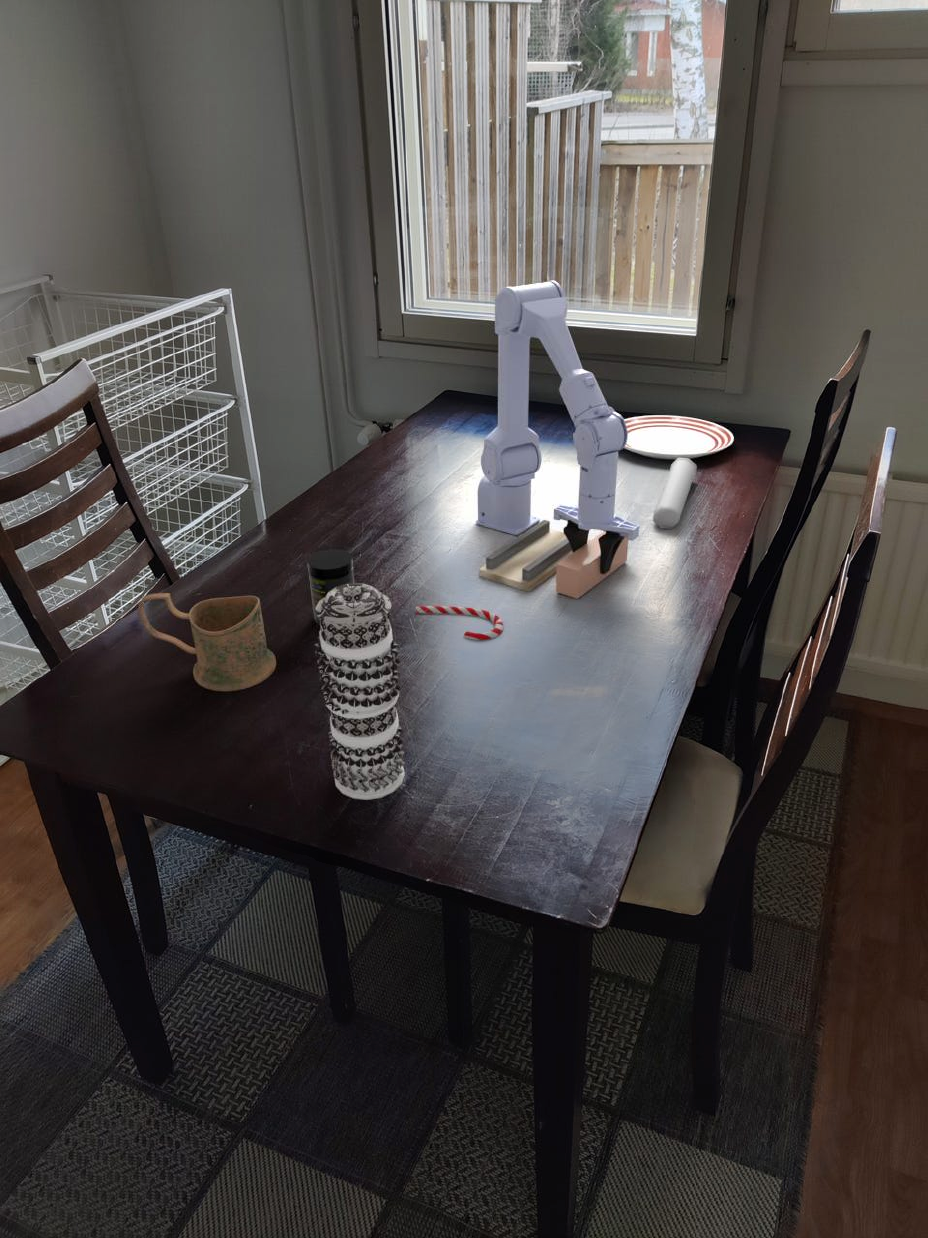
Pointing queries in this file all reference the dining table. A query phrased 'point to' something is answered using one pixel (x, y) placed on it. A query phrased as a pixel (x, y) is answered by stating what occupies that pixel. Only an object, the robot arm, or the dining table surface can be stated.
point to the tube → (674, 493)
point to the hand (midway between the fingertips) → (592, 567)
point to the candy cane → (468, 611)
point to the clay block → (586, 568)
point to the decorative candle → (361, 690)
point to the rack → (528, 558)
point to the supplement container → (328, 573)
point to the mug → (223, 641)
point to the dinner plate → (675, 437)
